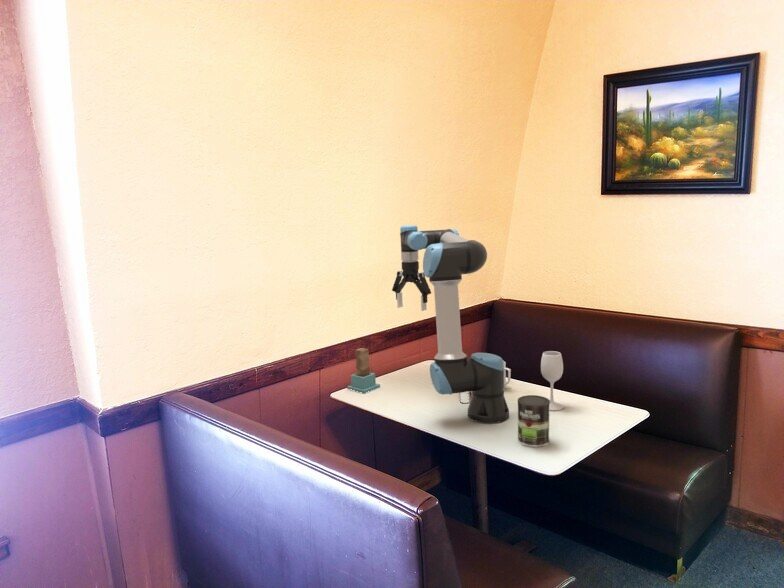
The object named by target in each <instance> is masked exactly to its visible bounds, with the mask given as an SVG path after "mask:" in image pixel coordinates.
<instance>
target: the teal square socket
mask: <svg viewBox="0 0 784 588" xmlns="http://www.w3.org/2000/svg"><path fill="white" fill-rule="evenodd" d="M350 380H351V381H350V383H351V385H347V386H346V387H347V390H348V389H352V390H355V391H354V392H356V391H358V392H357V393H360V392H362V393H361V394H367V393H369V392H372V391H374V390H377V389H379V388H381V384H379V383H377V382H376V373H375V372H370V375H368V376H365V377H361V376H357V373H356V372H355V373H353V374H351V375H350ZM376 388H377V389H376ZM373 389H374V390H373ZM352 390H351V391H352ZM371 390H372V391H371ZM368 391H369V392H368ZM366 392H367V393H366Z"/></svg>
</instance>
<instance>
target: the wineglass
mask: <svg viewBox="0 0 784 588" xmlns="http://www.w3.org/2000/svg"><path fill="white" fill-rule="evenodd" d="M563 361H564V360H563V356H562V353H561V352H559V351H554V350H548V351H547V350H546V351H543V352H542V355H541V360H540V374H541V375H542V377H543V379H545V380H546V381H547V382H549V385H550V386H549V387H550V397H549V400H550V404H549V411H561V410H563V409H564V408H565V406H564V405H563V404H562V403H560V402H557V401H555V400H554V384H555V382H557V381H559V380H560V379H561V378H562V377H563V376H562V375H563V373H564V362H563Z"/></svg>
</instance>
